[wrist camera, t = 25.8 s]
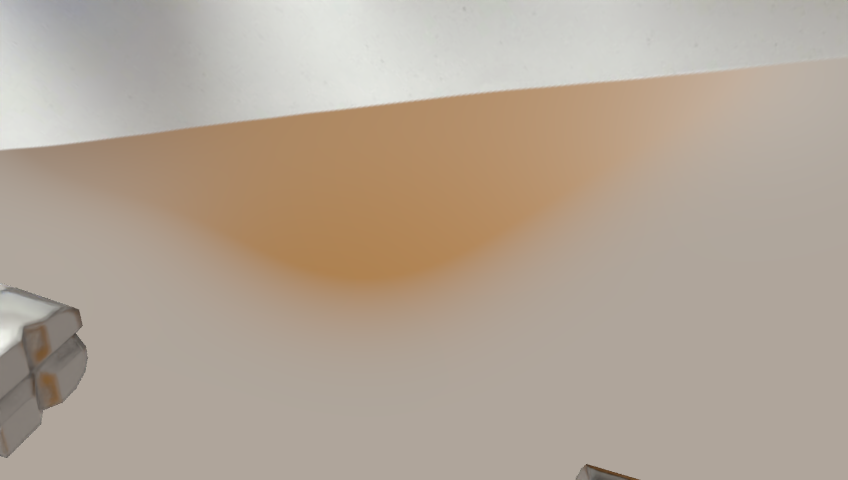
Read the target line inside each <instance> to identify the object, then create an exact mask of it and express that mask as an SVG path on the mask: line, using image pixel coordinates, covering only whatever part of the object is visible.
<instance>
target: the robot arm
mask: <svg viewBox="0 0 848 480" xmlns="http://www.w3.org/2000/svg"><path fill="white" fill-rule="evenodd" d="M82 326H83V325H82V321H81V316H80V312H79V310H78V309H75V308H73V307H71V306H68V305H65V304H63V303H60V302H57V301H54V300H51V299H48V298H45V297H42V296H39V295H36V294H33V293H30V292H27V291H24V290H21V289H18V288H14V287H11V286H8V285H5V284H2V283H0V456H2V457H5V458H7V457H8V456H9V455H10V454H11V453H12V452H13V451H14V450H15V449H16V448H17V447H18V446H19V445H21V443H23V442H24V440H26V438H28V437H29V435H31V434H32V432H34V431H35V430H36V429H37V428H38V426H40V425H41V421H42V413H43V410H45V409H47V408H50V407H52V406H55V405H58V404H60V403H62V402H63V401H65V400H66V398H67V397H68V396H69V395H70V394H71V393H72V392H73V391H74V390H75V389H76V388H77V385H78V384H79V382H80V380H81V378H82V376H83V375H84V373H85V370H86V364H87V359H88V357H87V350H86V346H85V345H84V344H83V342H82V341H81V340H80V338H79V337H78V336H77V334H76V332H77V331H78V330H79V329H80V328H81V327H82ZM576 480H639V479H635V478H632V477H628V476H625V475H622V474H618V473H615V472H612V471H608V470H605V469H601V468H598V467H594V466H591V465H588V464H586V465H585V466H584V467H583V468H581V470H580V472H579V474H578V476H577V478H576Z"/></svg>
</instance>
